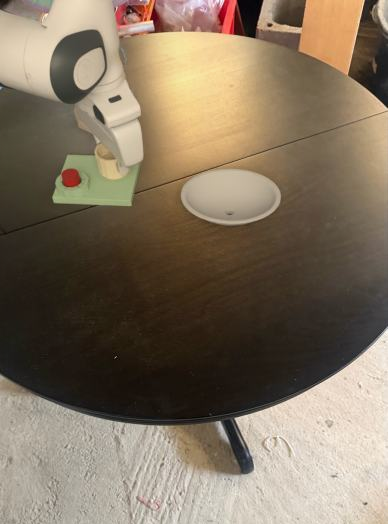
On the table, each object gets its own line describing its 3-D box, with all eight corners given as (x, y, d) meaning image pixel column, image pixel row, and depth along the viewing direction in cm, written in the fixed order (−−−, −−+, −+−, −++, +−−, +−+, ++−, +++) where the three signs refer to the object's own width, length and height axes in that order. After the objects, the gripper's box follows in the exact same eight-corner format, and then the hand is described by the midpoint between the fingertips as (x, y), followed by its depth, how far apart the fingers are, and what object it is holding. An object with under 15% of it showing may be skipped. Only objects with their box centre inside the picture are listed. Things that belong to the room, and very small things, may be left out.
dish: (179, 243, 84) (177, 221, 80) (184, 189, 92) (183, 167, 88) (279, 245, 83) (283, 224, 79) (275, 191, 91) (279, 169, 87)
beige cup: (96, 180, 92) (91, 160, 88) (102, 159, 95) (98, 139, 91) (128, 181, 91) (125, 161, 87) (133, 160, 95) (130, 140, 91)
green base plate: (53, 203, 90) (49, 190, 88) (69, 160, 97) (65, 147, 95) (131, 206, 89) (129, 193, 87) (141, 163, 96) (139, 150, 94)
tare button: (62, 187, 89) (59, 178, 87) (65, 176, 91) (63, 167, 89) (78, 188, 89) (76, 179, 87) (82, 177, 90) (80, 168, 89)
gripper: (57, 69, 84) (75, 139, 95) (111, 124, 74) (123, 196, 86) (89, 58, 85) (103, 129, 97) (146, 111, 76) (153, 183, 88)
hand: (113, 161), depth 91 cm, fingers closed on beige cup, 6 cm apart
